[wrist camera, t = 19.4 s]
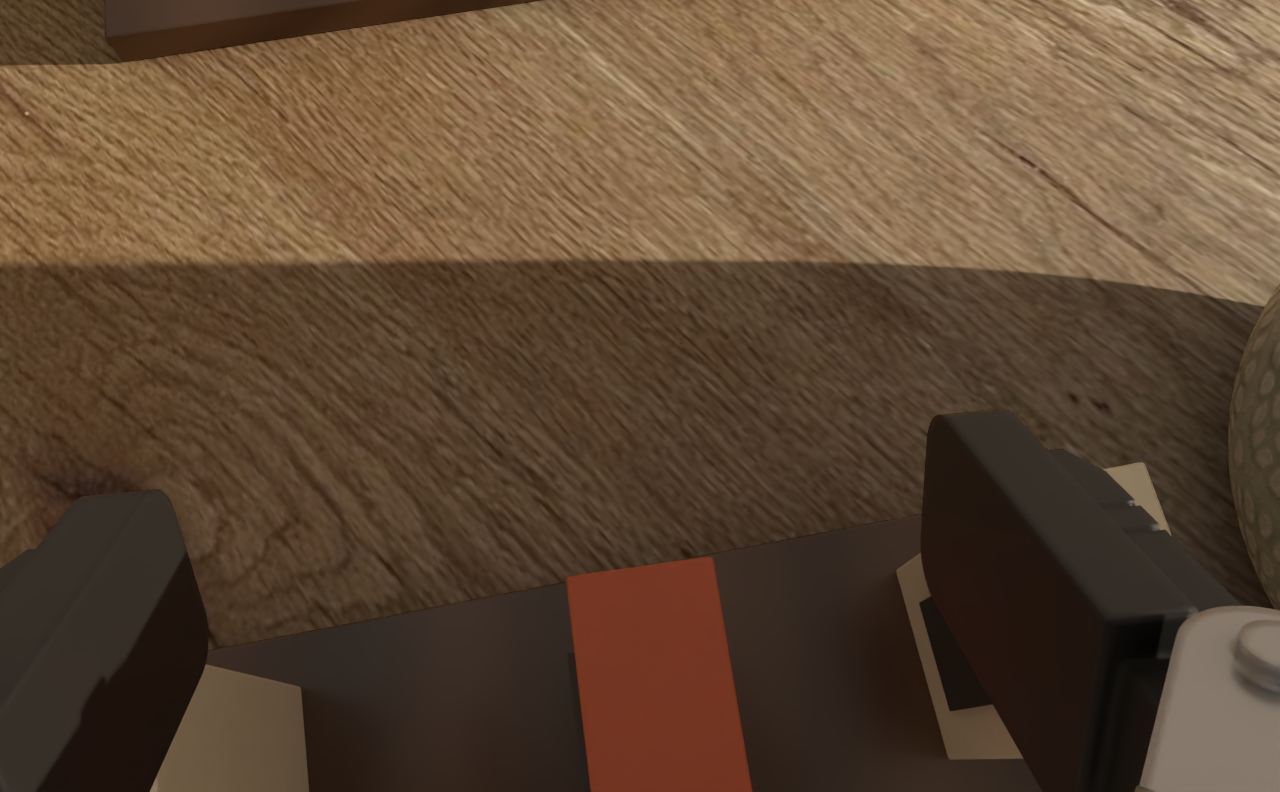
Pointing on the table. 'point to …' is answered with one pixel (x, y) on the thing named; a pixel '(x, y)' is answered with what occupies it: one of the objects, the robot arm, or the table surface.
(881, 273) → the table surface
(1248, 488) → the planter
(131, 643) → the robot arm
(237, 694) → the tiles
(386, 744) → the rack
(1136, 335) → the table surface
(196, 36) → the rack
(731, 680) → the tall orange-red rectangular prism
